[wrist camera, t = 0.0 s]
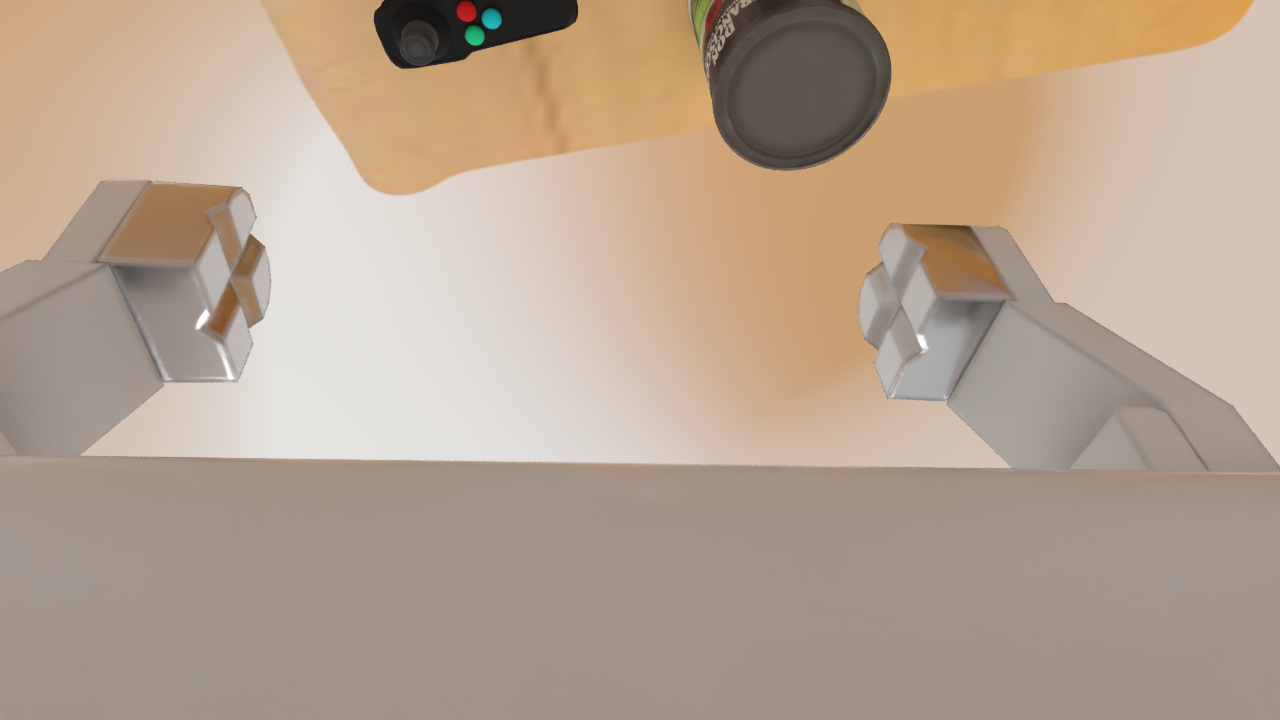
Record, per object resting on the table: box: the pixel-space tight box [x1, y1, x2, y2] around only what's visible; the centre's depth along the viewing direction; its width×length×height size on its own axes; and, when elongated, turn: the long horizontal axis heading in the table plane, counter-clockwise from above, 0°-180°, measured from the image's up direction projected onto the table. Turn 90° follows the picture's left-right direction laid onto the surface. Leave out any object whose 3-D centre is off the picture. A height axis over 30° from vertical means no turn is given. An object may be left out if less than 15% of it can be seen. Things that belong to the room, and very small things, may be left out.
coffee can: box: [688, 0, 891, 171], centre depth 51 cm, size 10×10×14 cm
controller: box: [374, 0, 578, 69], centre depth 50 cm, size 4×12×10 cm, turn 101°
